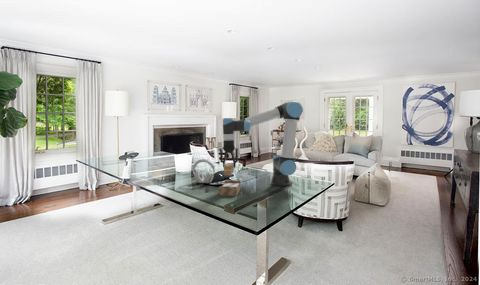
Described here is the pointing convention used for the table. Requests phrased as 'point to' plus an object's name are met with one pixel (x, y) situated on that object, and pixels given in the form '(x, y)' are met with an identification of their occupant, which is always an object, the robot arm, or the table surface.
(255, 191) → the table surface
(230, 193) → the stand
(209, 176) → the headphones
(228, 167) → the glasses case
